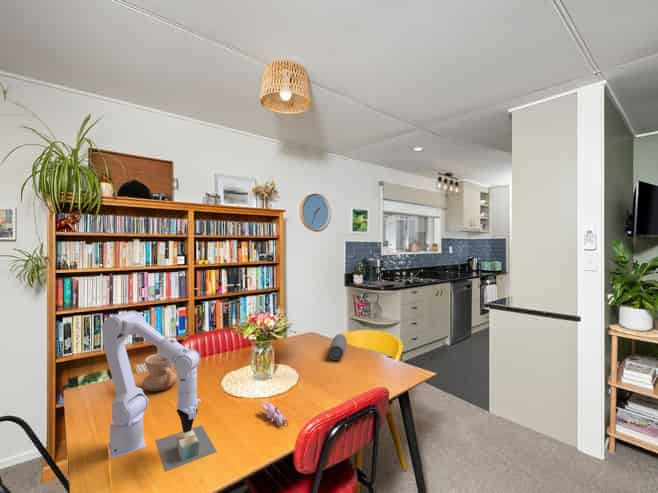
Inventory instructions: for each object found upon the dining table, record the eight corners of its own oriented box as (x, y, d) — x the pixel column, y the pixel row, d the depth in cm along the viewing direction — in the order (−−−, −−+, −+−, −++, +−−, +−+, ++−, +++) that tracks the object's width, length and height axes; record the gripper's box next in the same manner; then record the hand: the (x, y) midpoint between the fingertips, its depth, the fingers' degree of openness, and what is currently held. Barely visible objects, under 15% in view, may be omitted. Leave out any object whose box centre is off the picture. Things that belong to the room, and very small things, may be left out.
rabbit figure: (291, 427, 117) (269, 405, 128) (293, 412, 117) (271, 392, 127) (277, 434, 113) (256, 411, 124) (279, 419, 112) (257, 397, 123)
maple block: (176, 447, 102) (182, 460, 96) (176, 435, 102) (182, 448, 96) (192, 441, 105) (199, 454, 99) (192, 429, 105) (199, 441, 99)
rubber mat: (165, 473, 91) (165, 471, 91) (155, 441, 106) (155, 440, 106) (217, 453, 100) (217, 451, 100) (201, 426, 115) (201, 425, 115)
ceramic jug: (136, 386, 146) (136, 356, 145) (168, 376, 157) (168, 348, 156) (151, 400, 134) (151, 368, 133) (185, 388, 145) (185, 358, 144)
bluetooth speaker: (332, 348, 202) (333, 332, 202) (347, 349, 201) (347, 333, 201) (327, 361, 180) (328, 344, 179) (344, 362, 178) (344, 345, 178)
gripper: (206, 394, 98) (206, 437, 98) (194, 378, 109) (194, 416, 110) (182, 401, 94) (181, 446, 94) (172, 383, 105) (172, 423, 105)
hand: (187, 431), depth 101 cm, fingers closed
